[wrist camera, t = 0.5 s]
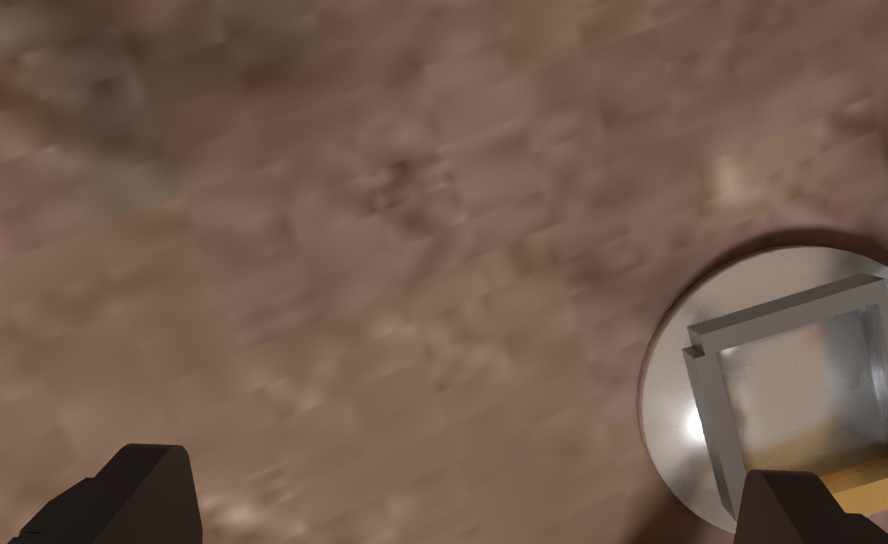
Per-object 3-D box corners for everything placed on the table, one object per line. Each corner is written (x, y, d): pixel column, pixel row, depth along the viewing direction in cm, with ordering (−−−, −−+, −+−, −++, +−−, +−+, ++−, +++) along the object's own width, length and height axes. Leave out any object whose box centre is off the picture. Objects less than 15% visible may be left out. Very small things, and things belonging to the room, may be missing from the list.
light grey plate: (602, 298, 30) (617, 310, 28) (906, 204, 30) (948, 208, 27) (676, 564, 33) (696, 596, 30) (957, 482, 32) (1001, 508, 30)
